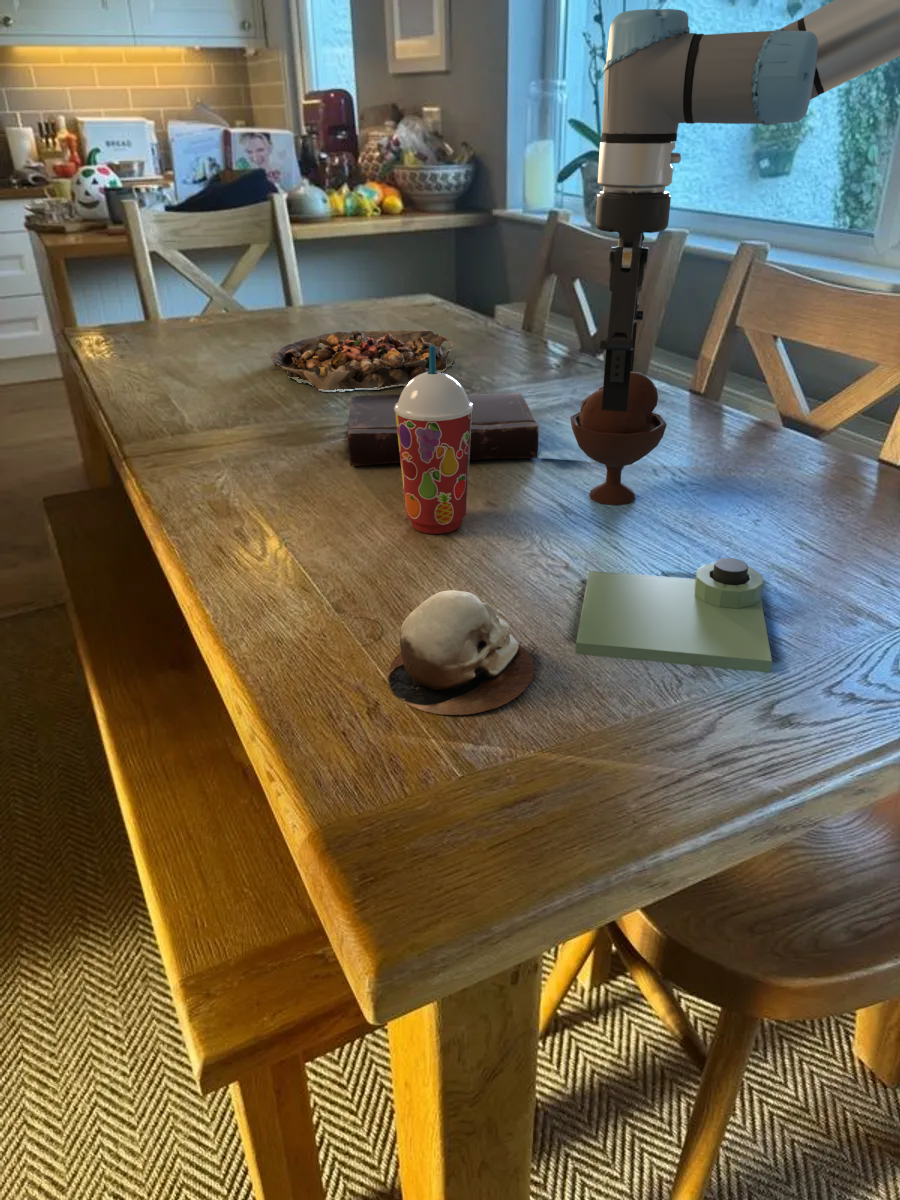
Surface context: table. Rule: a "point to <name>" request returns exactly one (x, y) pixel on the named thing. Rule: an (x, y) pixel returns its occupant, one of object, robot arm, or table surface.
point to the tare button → (730, 571)
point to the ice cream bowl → (619, 435)
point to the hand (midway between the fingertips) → (617, 393)
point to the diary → (494, 428)
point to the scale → (675, 620)
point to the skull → (458, 657)
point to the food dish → (361, 358)
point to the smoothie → (434, 449)
